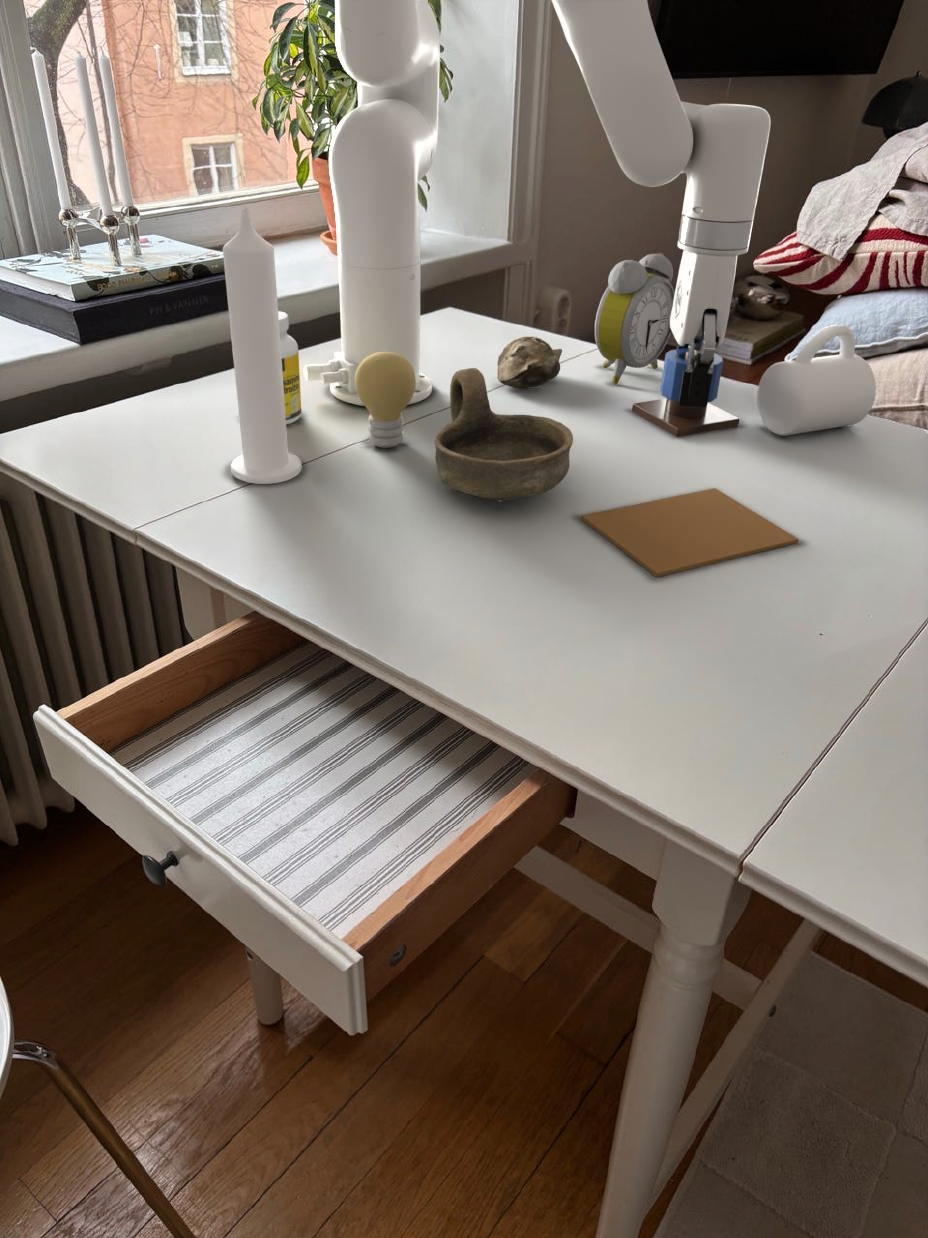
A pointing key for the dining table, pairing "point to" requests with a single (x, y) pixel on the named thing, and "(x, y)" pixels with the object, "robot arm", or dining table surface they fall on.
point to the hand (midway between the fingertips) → (688, 393)
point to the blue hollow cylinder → (674, 374)
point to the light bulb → (385, 395)
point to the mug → (817, 387)
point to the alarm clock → (635, 313)
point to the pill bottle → (289, 371)
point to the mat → (687, 531)
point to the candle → (257, 358)
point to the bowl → (498, 446)
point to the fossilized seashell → (528, 363)
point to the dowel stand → (684, 416)
